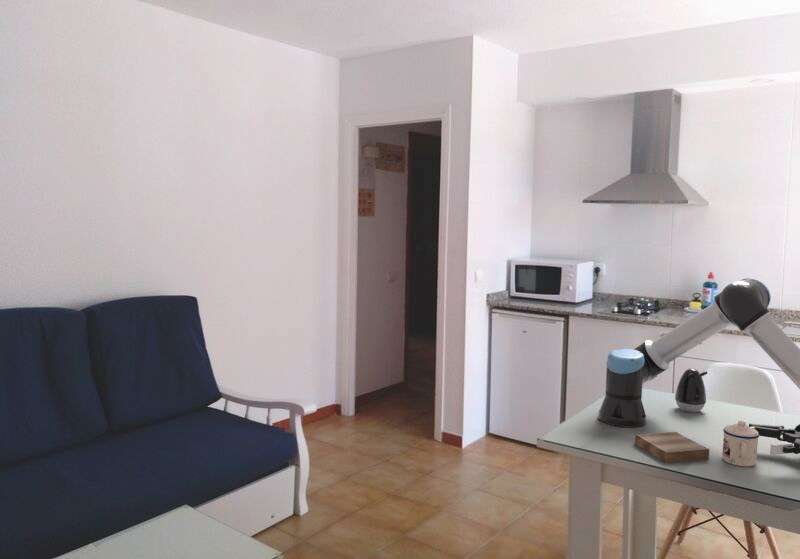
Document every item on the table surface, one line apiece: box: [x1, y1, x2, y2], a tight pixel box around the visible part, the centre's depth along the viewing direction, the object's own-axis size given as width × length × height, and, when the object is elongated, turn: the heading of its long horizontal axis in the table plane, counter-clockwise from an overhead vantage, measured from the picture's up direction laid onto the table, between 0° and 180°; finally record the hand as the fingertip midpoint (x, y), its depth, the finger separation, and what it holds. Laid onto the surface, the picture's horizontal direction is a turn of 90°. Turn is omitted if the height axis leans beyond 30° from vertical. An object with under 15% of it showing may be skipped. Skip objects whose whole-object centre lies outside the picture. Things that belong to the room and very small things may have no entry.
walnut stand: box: [634, 431, 710, 464], centre depth 194 cm, size 15×14×3 cm
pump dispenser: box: [674, 368, 708, 413], centre depth 235 cm, size 10×10×15 cm
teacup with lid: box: [721, 420, 760, 468], centre depth 186 cm, size 12×9×12 cm
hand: (752, 440), depth 187 cm, fingers open, 13 cm apart
